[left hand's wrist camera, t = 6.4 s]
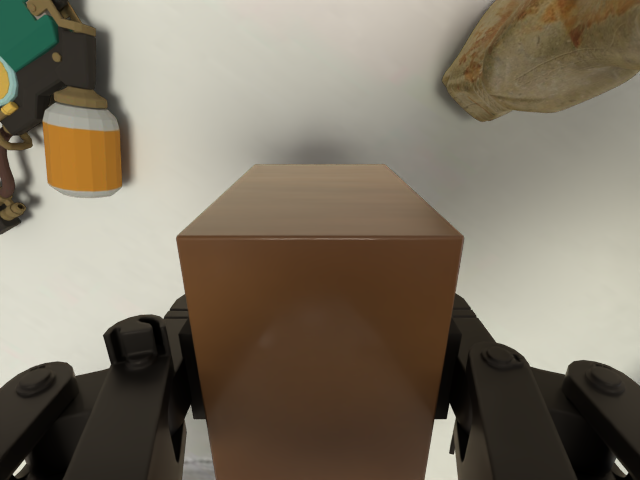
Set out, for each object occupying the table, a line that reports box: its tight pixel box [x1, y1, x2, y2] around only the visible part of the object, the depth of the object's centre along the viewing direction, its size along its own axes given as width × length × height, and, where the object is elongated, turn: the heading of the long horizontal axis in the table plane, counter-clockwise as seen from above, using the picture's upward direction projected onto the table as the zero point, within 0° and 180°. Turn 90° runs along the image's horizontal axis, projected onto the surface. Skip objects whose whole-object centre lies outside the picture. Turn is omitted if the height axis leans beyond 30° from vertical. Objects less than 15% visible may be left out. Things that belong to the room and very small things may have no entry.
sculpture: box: [442, 0, 640, 122], centre depth 16 cm, size 6×7×15 cm
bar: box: [176, 164, 464, 480], centre depth 14 cm, size 23×5×8 cm, turn 0°
